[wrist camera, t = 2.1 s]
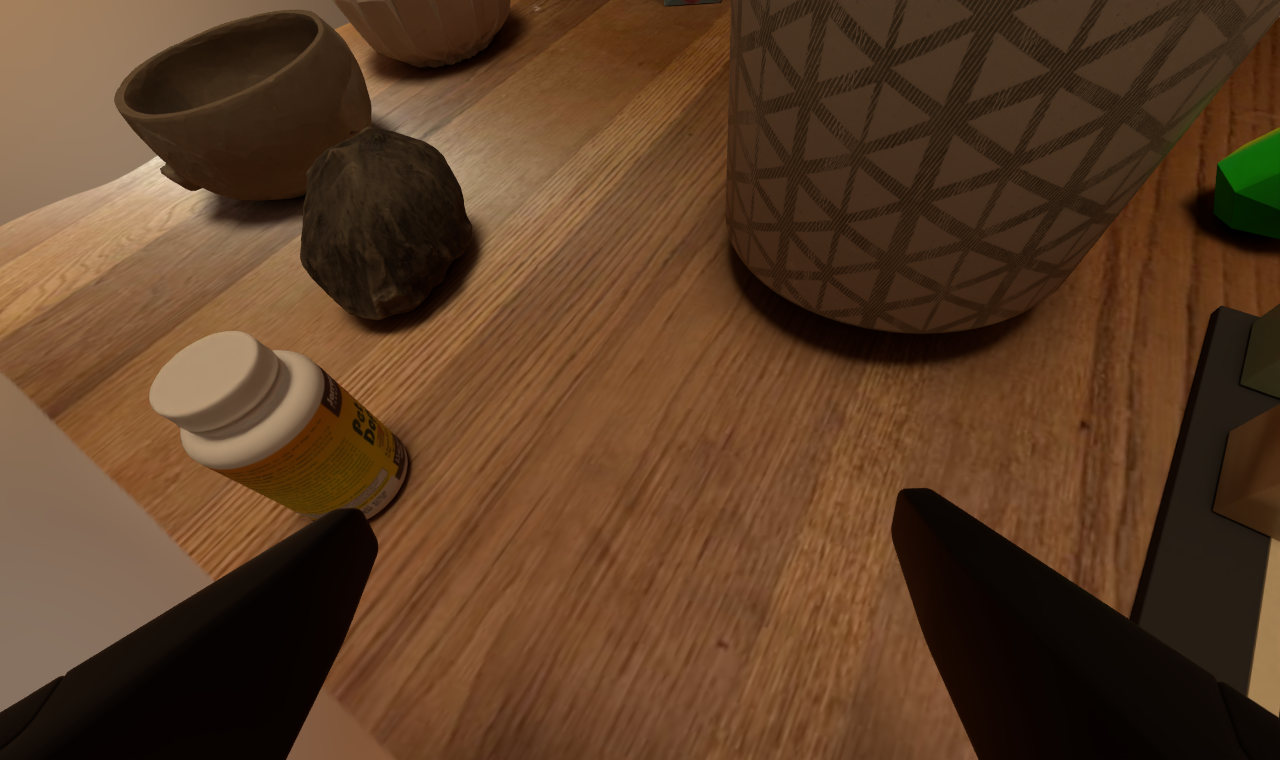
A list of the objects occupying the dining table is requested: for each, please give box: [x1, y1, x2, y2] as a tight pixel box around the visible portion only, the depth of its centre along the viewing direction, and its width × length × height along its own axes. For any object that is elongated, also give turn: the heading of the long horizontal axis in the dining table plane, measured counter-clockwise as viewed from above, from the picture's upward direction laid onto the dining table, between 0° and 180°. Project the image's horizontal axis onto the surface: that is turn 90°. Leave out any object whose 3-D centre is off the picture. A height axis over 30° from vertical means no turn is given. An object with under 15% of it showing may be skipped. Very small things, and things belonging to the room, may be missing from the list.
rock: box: [300, 126, 472, 320], centre depth 32 cm, size 10×11×10 cm
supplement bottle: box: [149, 331, 408, 521], centre depth 22 cm, size 6×6×10 cm
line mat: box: [1131, 306, 1280, 718], centre depth 19 cm, size 25×7×1 cm, turn 142°
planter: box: [726, 0, 1280, 334], centre depth 24 cm, size 19×19×18 cm
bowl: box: [114, 10, 372, 201], centre depth 42 cm, size 17×18×10 cm
